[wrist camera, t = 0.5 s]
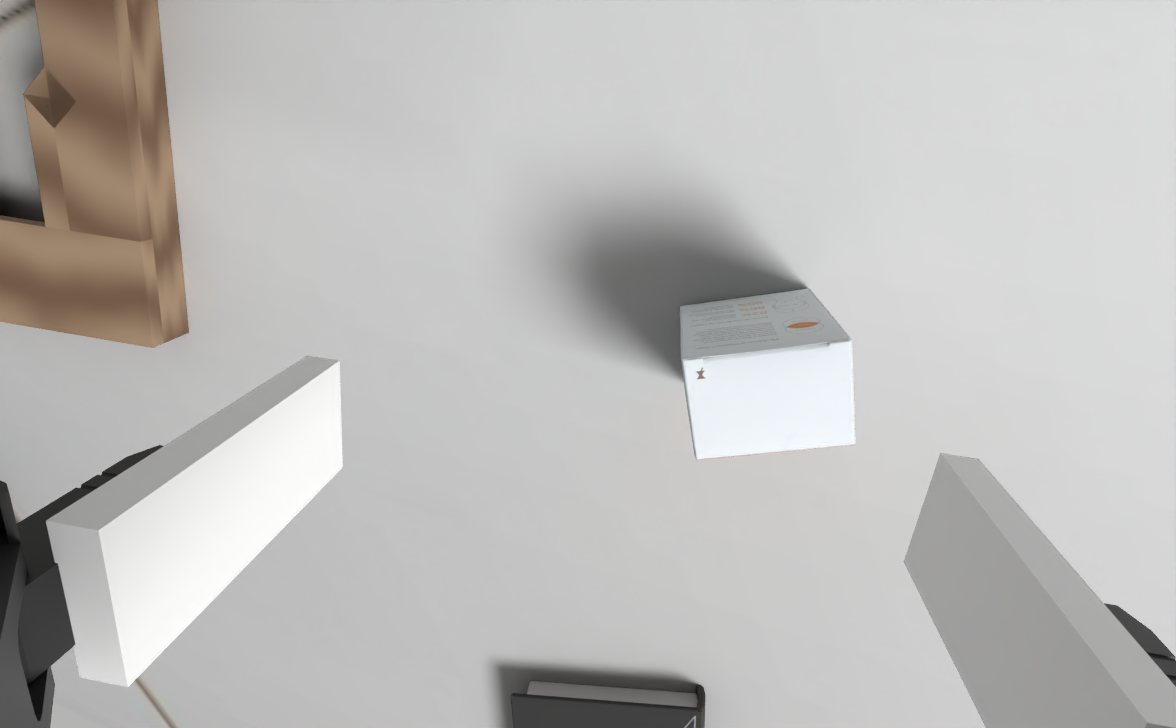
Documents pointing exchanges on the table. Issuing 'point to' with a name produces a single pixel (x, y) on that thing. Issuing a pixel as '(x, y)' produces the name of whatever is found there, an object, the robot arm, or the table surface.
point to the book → (606, 707)
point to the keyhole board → (98, 182)
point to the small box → (766, 375)
